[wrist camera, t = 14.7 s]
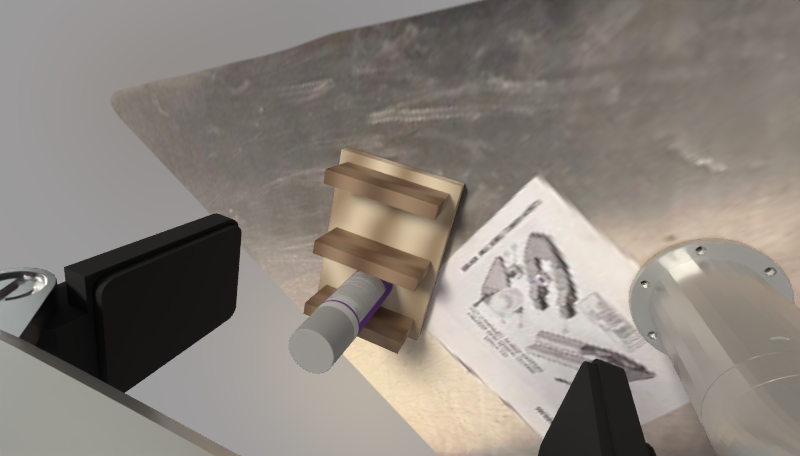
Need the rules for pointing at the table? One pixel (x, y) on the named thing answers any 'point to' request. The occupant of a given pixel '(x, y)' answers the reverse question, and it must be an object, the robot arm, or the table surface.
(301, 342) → the container
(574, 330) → the table surface
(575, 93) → the table surface
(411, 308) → the slot rack
